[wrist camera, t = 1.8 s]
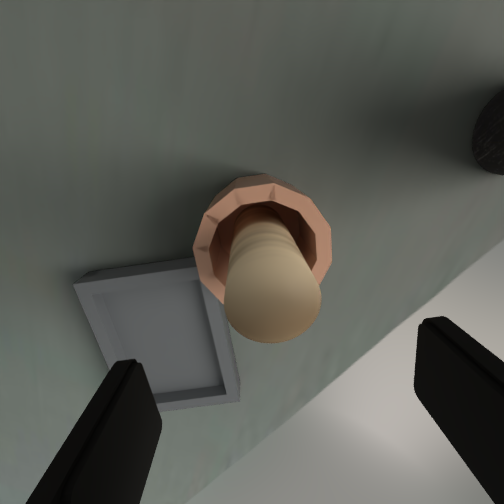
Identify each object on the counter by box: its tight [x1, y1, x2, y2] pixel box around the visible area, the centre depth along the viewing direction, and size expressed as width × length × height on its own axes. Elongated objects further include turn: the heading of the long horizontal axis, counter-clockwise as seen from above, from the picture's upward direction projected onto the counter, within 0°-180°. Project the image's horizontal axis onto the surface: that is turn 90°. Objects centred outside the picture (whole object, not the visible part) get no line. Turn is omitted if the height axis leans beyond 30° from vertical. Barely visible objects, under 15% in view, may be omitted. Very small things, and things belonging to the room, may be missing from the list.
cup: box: [193, 174, 332, 304], centre depth 21 cm, size 9×9×7 cm
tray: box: [73, 257, 240, 412], centre depth 27 cm, size 16×12×2 cm
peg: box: [224, 205, 321, 343], centre depth 18 cm, size 4×4×12 cm
